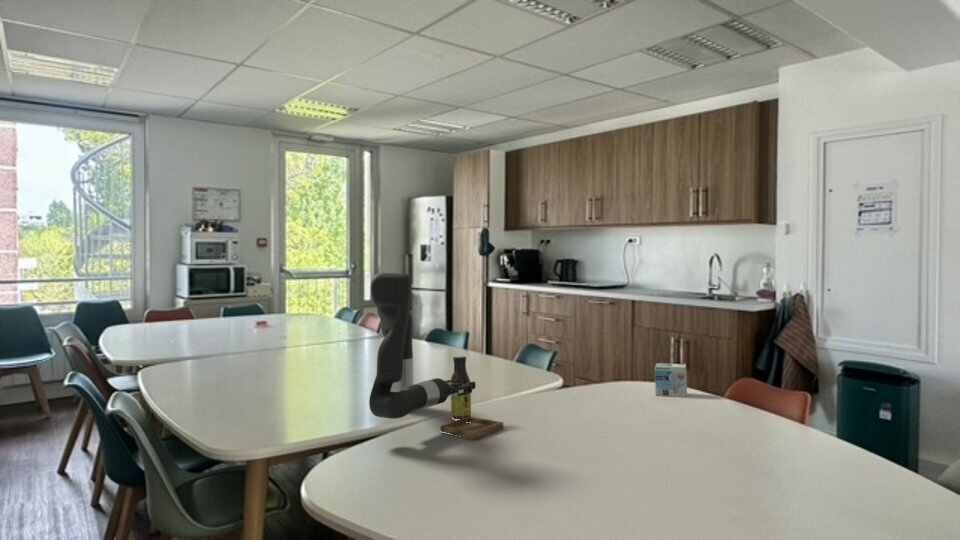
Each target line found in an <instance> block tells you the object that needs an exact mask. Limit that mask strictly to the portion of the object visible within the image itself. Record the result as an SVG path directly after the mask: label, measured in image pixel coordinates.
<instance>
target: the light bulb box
mask: <svg viewBox="0 0 960 540" xmlns="http://www.w3.org/2000/svg"><path fill="white" fill-rule="evenodd" d="M687 379H688V378H687V365H686V363H661V362H660V363H659V362H658V363H656V364H655V366H654V384H655V386H654V388H655V396H657V397H659V396H660V397H676V398H678V397H679V398H686V397H687V395H688V386H687V381H688V380H687Z"/></svg>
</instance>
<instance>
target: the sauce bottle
mask: <svg viewBox="0 0 960 540" xmlns="http://www.w3.org/2000/svg"><path fill="white" fill-rule="evenodd" d="M452 358H453V359H452V360H453V373H452V374H451V376H450V380H451V383H457V382H460V383H461V384H464V383H469V382H471V379H470V377H469V375H468V372H467V366H466V363H467V362H466V361H467V357H466V356H465V355H457V356H456V355H455V356H453V357H452ZM457 387H458V385H456V389H457ZM471 394H472V393H469V394H465V395H462V396H458V394H457V395H452V396H450V407H451V408H450V411H451V412H450V413H451V418H452V417H453V418H454V419H463V418H466V417H472V398H471V397H472V396H471Z"/></svg>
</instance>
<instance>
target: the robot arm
mask: <svg viewBox="0 0 960 540" xmlns="http://www.w3.org/2000/svg"><path fill="white" fill-rule="evenodd" d="M370 294H371V299H372V302H373V303H374V306H375V307H376V310H377V314H378V317H379V320H380V330H381V333H382V336H383V337H384V338H383V340H382V341H381V342H380V345H379V348H378V349H377V350H378V351H377V357H376V358H377V359H376V375H375V379H374V381H373V385H372V388H371V392H370V396H369V401H368V402H369V409H370V412H371V414H372V415H373V416H375V417H378V418H385V419H392V420H393V419H401V418H403V417H406V416H407V415H408V414H410V413H412V412H413V411H417V410H420V409H426V408H430V407H434V406H437V405H440V404H442V403H445V402H446V401H447V399H448V398H449V397H451V396H452V395H457V394H458V396H462V395H465V394H469V393H471V394H473V390H474V389H476V388H477V387H476V382H475V381H470V382H469V383H464V384H461V383H460V382H457V383H451V379H448V380H444V379H442V378H439V377H436V378H432V379H429V380H424V381H421V382H418V383H416V384H415V383H414V382H415V381H414V354H413V352H414V350H413V328H414V327H413V316H412V314H411V313H410V307H411V300H412V280H411V277H410V275H409V274H408V273H400V272H398V273H397V272H380V273H376V274H375V275H374V276H373V278H372V279H371V284H370ZM456 385H458V387H457V389H456Z"/></svg>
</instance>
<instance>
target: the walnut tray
mask: <svg viewBox="0 0 960 540" xmlns="http://www.w3.org/2000/svg"><path fill="white" fill-rule="evenodd" d="M466 422H468V423H466ZM469 422H471V423H469ZM439 429H440V431H442V432H446V433H450V434H453V435H457V436H461V437H460V438H462V437H465V438H464V439H467V438H469V440H472V439H473V441H478V440H480V439H483V438H484V436H485V437H488V436H490V435H491V434H492V435H493V434H495V433H497V432H500V431H502V430H503V429H504V421H498V420H492V419H485V418H482V417H481V418H480V417H473V416H471V417H466V418H463V419H460V420H457V421H451V422H449V423H446V424H443V425H440V428H439ZM501 429H502V430H501ZM499 430H500V431H499ZM494 432H495V433H494ZM489 434H490V435H489ZM487 435H488V436H487ZM457 436H456V437H457ZM482 437H483V438H482Z"/></svg>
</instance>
